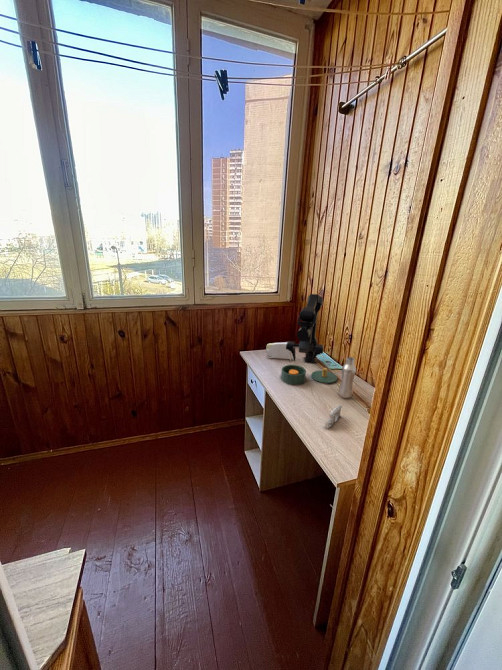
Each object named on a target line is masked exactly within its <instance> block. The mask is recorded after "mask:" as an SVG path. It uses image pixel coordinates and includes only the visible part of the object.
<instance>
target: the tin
mask: <svg viewBox="0 0 502 670" xmlns="http://www.w3.org/2000/svg"><path fill="white" fill-rule="evenodd" d="M289 370H297V371H298V375H291V374H289ZM280 373H281V374H280V379H281V381H282V382H283V383H284V384H287V385H292V386H298V385H302V384H304V383H305V381H306V376H307V371H306V369H305V368H304V367H303V366H301V365H297V364H286V365H283V367H281V372H280Z"/></svg>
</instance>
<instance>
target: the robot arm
mask: <svg viewBox="0 0 502 670" xmlns="http://www.w3.org/2000/svg"><path fill="white" fill-rule="evenodd" d="M306 303H307V304H306V306H305V307H303V308H302V309H301V311H300V312H299V314H298V321H297V325H298V326H300V328H299V329H298V331H297V333H296V337H297V339H298V341H299V342H298V343H296V341H292V340H288V341H286V342H287V344H286V349H288V350H289V351H291V356H292V359H293V361H294V362H296V349H298V353H300V354H302V353H303V354H305V355H304V357H303V360H304V363H311V364H315V363H316V358H317V356H318V355H319V356H320V355H321V354H324V347H325V345H324V344H319V343H318V341H319V340H318V338H317V335H316V334H317V325H318V318H319V317H318V316H319V312H320V310H321V309H322V306H323V305H324V297H322V296H320V295H319V294H317V293H310V294H309V295H308V296H307V300H306Z"/></svg>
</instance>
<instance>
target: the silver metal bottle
mask: <svg viewBox="0 0 502 670" xmlns="http://www.w3.org/2000/svg"><path fill="white" fill-rule="evenodd" d="M355 361H356V359H355V358H354V357H353V356H352V357H351V356H347V357H346V360H345V363H344V364H343V365H342V366H341V382H340V386H339V388H338V394H339V396H340V397H341V398H343V399H350V398H351V397H352V396H353V394H354V389H353V386H354V380H355V377H356V373H357V367H356V365H355Z"/></svg>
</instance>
